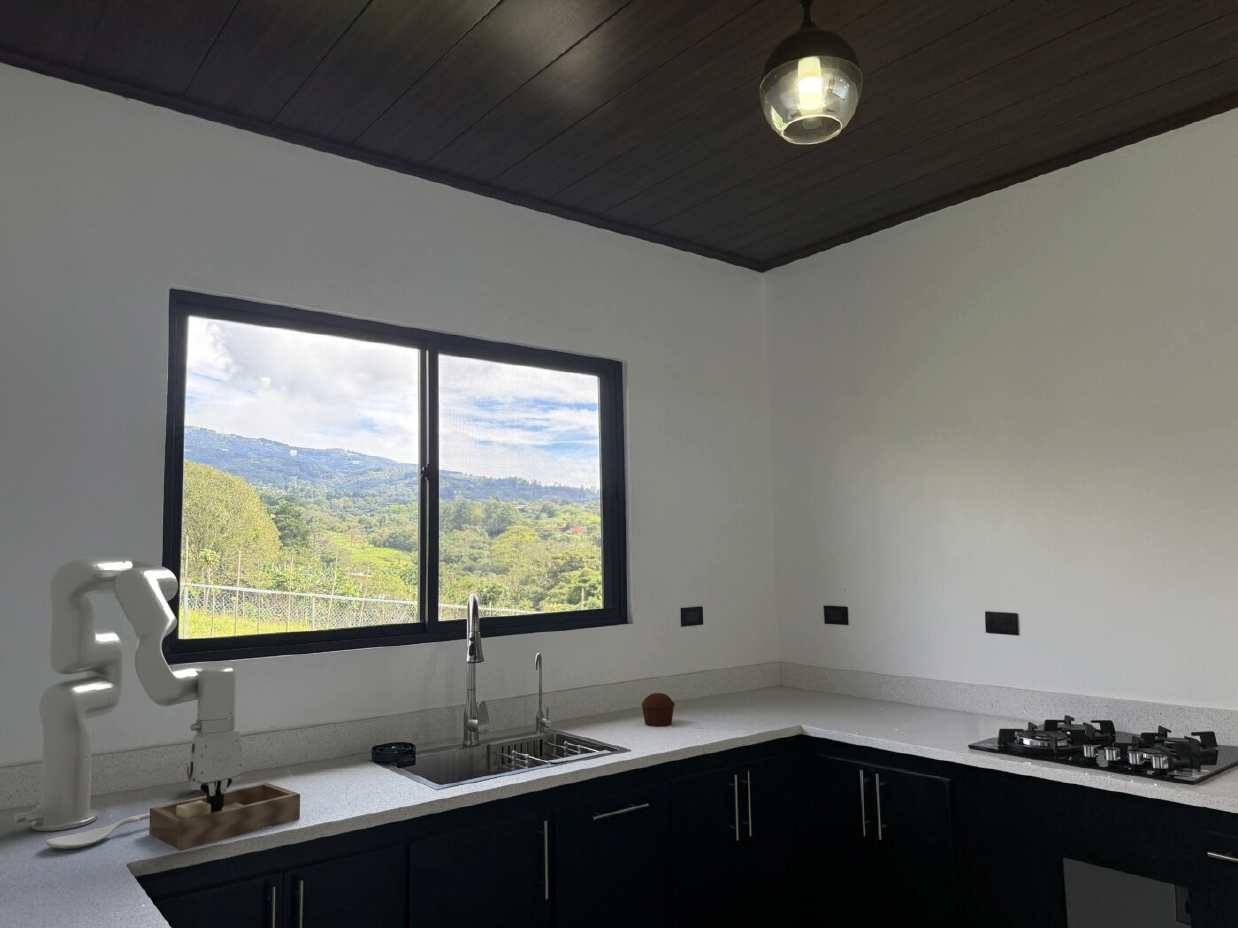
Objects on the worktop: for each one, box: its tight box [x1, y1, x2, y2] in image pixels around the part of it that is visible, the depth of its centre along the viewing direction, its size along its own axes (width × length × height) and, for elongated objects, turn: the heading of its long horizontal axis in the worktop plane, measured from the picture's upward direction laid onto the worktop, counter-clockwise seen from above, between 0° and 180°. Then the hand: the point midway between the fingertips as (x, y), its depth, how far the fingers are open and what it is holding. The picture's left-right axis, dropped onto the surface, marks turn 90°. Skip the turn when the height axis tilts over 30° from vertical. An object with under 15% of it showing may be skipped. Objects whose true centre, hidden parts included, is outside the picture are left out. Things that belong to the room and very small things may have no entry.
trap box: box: [148, 782, 301, 851], centre depth 194 cm, size 26×16×6 cm, turn 138°
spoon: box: [45, 812, 150, 850], centre depth 191 cm, size 9×32×4 cm, turn 142°
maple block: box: [176, 800, 211, 819], centre depth 186 cm, size 5×5×4 cm
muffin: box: [640, 692, 676, 728], centre depth 295 cm, size 12×11×10 cm
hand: (214, 812), depth 190 cm, fingers closed
